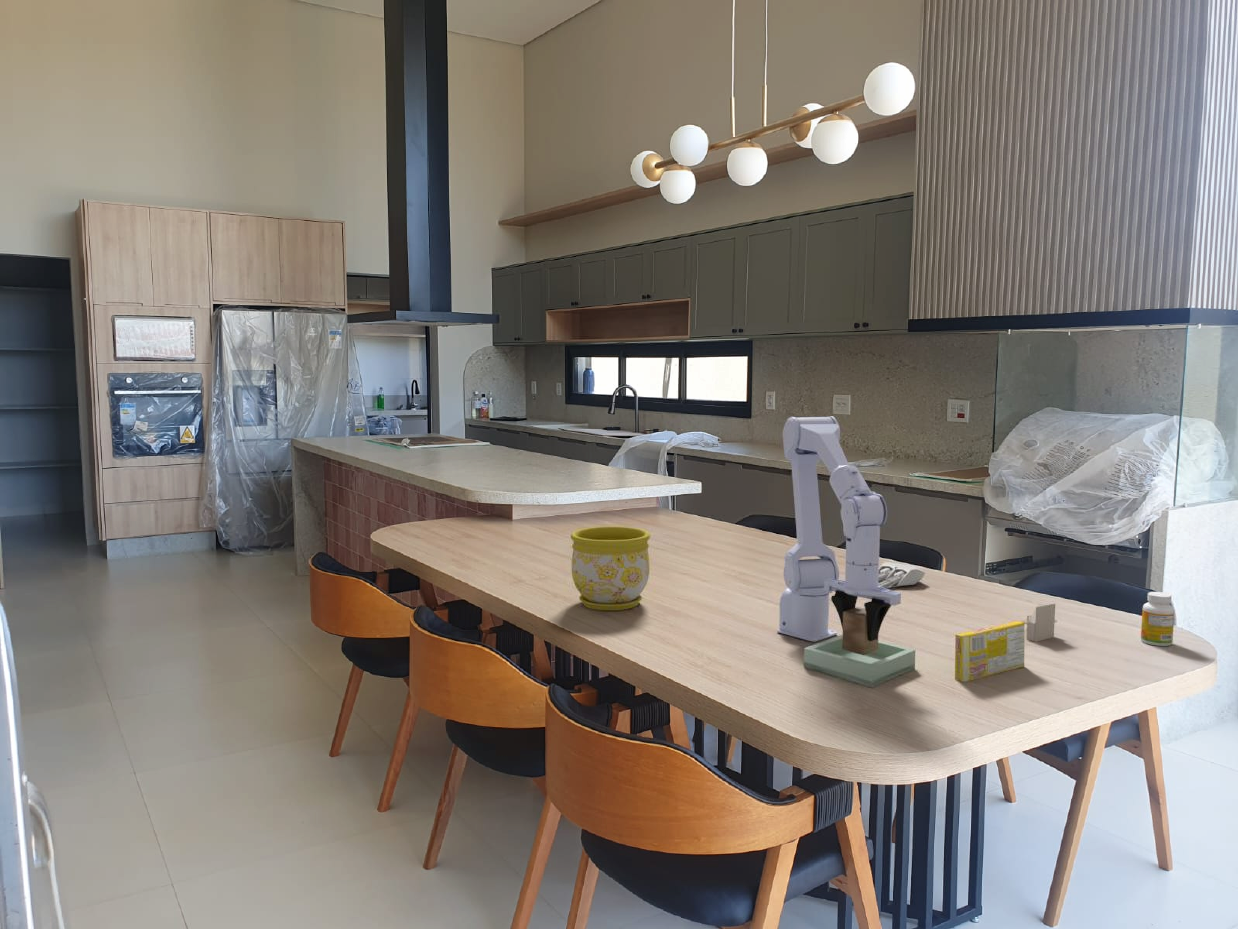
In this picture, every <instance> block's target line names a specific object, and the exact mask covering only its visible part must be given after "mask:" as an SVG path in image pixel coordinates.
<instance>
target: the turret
mask: <svg viewBox="0 0 1238 929" xmlns="http://www.w3.org/2000/svg"><path fill="white" fill-rule="evenodd" d="M925 574H926V572H925V571H924V570H922V569H921V568H920V567H918V566H917V565H913V564H911V565H910V564H903V563H896V562H891V561H890V562H889V561H884V562H883V563H882V564H881V565H880V566H879V575H878V586H880V587H883V588H886V589H893V588H898V587H906V586H910V585H911V586H914V585H916V584H917V583H919V582H920V581H921V580H923V577H924V576H925Z"/></svg>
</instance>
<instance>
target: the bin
mask: <svg viewBox="0 0 1238 929" xmlns="http://www.w3.org/2000/svg"><path fill="white" fill-rule="evenodd" d="M842 640H843V634H841V635H838V636H835V637H832V638H829V639H827V640H824V641H821V642H818V643H815V644H813V645H810V646H807V647H804V649H803V668H806V669H809V670H811V671H816V672H819V673H823V674H824V675H825V674H826V675H829V676H832V677H837V678H839V679H843V680H845V681H849V682H853V683H855V684H859V685H861V686H862V685H863V686H865V687H869V688H873V687H877V686H878V685H881V684H883V683H885V682H887V681H889V680H892V679H894V678H897V677H900V676H901V675H903V674H906V673H908V672H911V671H913V670H915V669H916V649H913V648H911V647H906V646H903V645H897V644H895V643H890V642H886V641H882V640H879V639H878V650H877V651H874V652H871V653H869V654H866V655H861V654H857V653H853V652H850V651H846V650H842Z"/></svg>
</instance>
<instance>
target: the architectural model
mask: <svg viewBox="0 0 1238 929" xmlns="http://www.w3.org/2000/svg"><path fill="white" fill-rule="evenodd" d="M1020 622H1024V623H1025V624H1024V625H1026V640H1029V641H1032V642H1038V641H1039V642H1040V641H1043V640H1048V639H1053V638H1054V637H1055V624H1056V623H1057V622H1058V620H1057V619H1056V603H1050V604H1048V603H1043V602H1039V603H1038V605H1036V607H1035V609H1034V610H1033V612H1032V614H1031V615H1027V618H1026V619H1024V620H1021V621H1020Z"/></svg>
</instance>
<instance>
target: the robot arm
mask: <svg viewBox="0 0 1238 929" xmlns="http://www.w3.org/2000/svg"><path fill="white" fill-rule="evenodd" d="M840 438H841V427H840V424H839V422H838V420H837V419H836V417H834V416H832V415H831V416H818V417H817V416H812V417H811V416H810V417H809V416H808V417H806V416H805V417H795V416H790V417H788V418H787V420H786V421H785V424H784V427H783V429H782V442H783V443H782V444H783V453H784V458H785V459H786V460H787V461H789V462H790V464H791V465H790V466H791V477H792V478H791V479H792V488H793V489H792V491H793V501H794V515H795V516H794V517H795V526H796V527H795V528H796V544H795V545H794V546H792V547H791V548H790V549H789V550H788V551H787V552H786V553H785V554H784V568H783V580H784V584H785V585H786V587H787V588H785V590H783V591H782V593H781V596H780V600H779V624H778V628H777V629H776V632H777V633H778V634H779V633H780V634H783V635H786V636H791V637H794V638H796V639H797V638H798V639H801V640H806V641H809V642H813V643H817V642H818V641H822V640H824V639H828V638H830V637H833V636H836V635H838V632H837V631H835V630H831V629H829V614H830V610H829V609H830V599H831V602H832V604H833V607H835V610H836V612H837V614H838V617H839V621H840V624H841V629H842V630H843V612H844V611H847V610H850V609H853V608H856V605H857V600H858V597H859V598H863V599H867V600H870V601H866V602H864V604H863V606H864V609H865V610H866V615H867V637H868V641H873V640H876V639H877V638H878V639H879V634H880V629H881V626H882V624H883V622H884V619H885V617H886V616H887V613H888V612H889V610H890V608H891V607H892V606H893V607H894V606H898V605H900V604H901V603H902V602H901V598H902V593H901V592H898V591H894V590H892V589H890V588H883V587H880V586H878V575H879V568H880V537H881V535H880V534H881V527H883V526H884V525H885V524H886V521H887V519H888V506H887V504H886V500H885V498H884V497H883V495H882V494H880V493H876V491H872V490H871V489H870V488H869V485H868V484H867V482H866V480H865V479H864V477H863V475H862V474H861V472H860V470H859V469H858V468H857V466H855V465H849V462H848V460H847V458H846V456H845V453H844V450H843V448H842V446H841V443H840ZM820 461H822V462H823V464H824V465H825V467H826V468H827V470H828V472H830V477H829V481H828V482H829V484H830V486H831V488H832V491H833V492H834V494H835V496H836V498H837V499H838V502H839V503H840V505H841V509H840V518H841V522H842V526H843V528H842V529H843V530H842V531H843V532H842V533H843V536H844V537H846V538H845V539H846V540H845V574H844V575H845V576H844V580H842V579H840V570H839V566H838V564H837V560H836V555H835V551H834V550H833V549H831V548H830V547H829V546H827V544H825V543H824V541H823V532H822V529H823V528H822V520H821V519H822V518H821V504H820V495H819V493H820V492H819V482H818V481H819V480H818V471H817V470H818V469H817V466H818V464H819V462H820ZM807 557H817V558H807ZM802 558H806V559H802ZM833 592H834V595H832V596H830V594H833Z"/></svg>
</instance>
